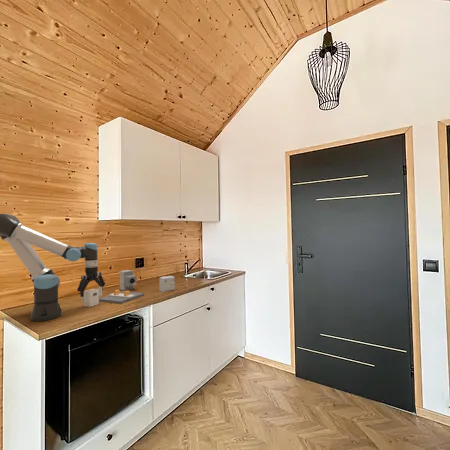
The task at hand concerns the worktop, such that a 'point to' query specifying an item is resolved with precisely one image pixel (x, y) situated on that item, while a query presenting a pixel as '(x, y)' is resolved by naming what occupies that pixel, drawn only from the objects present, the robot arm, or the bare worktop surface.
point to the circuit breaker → (127, 280)
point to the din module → (91, 297)
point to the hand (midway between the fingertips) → (92, 298)
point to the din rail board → (121, 297)
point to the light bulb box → (166, 283)
